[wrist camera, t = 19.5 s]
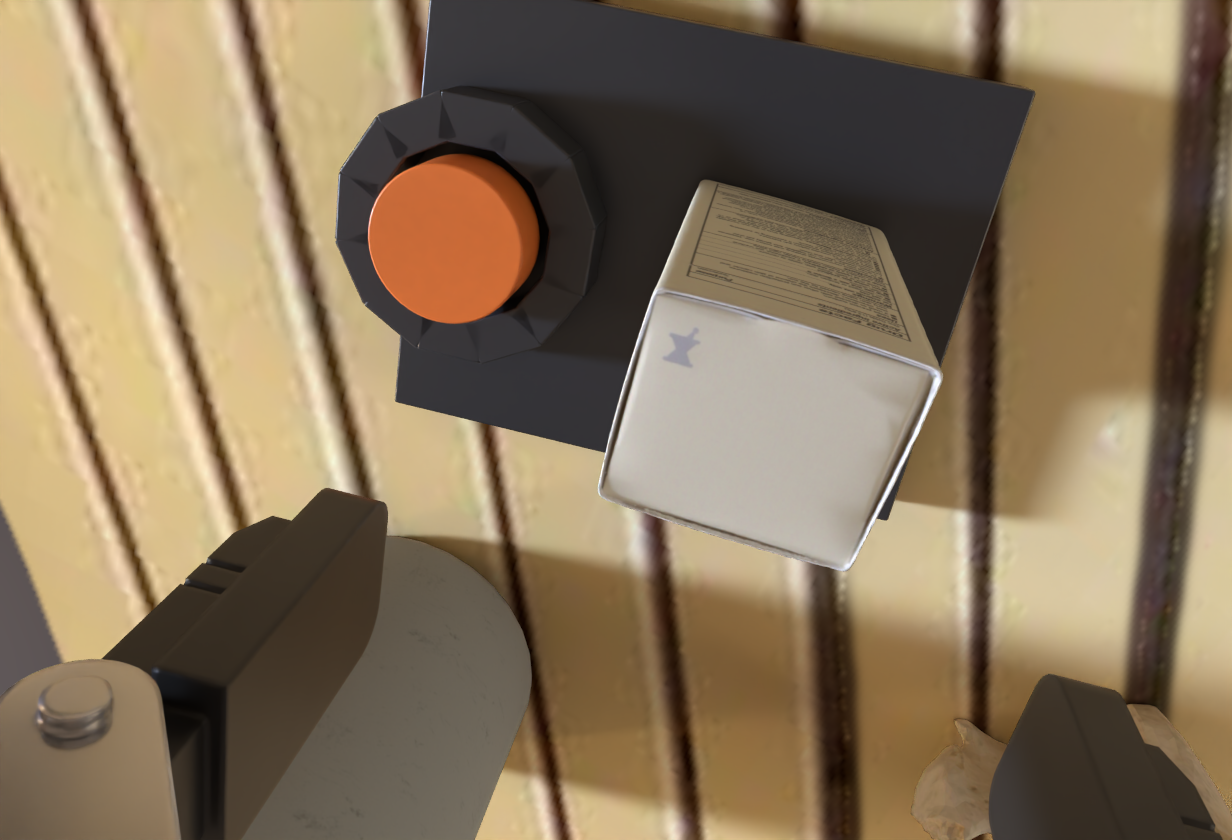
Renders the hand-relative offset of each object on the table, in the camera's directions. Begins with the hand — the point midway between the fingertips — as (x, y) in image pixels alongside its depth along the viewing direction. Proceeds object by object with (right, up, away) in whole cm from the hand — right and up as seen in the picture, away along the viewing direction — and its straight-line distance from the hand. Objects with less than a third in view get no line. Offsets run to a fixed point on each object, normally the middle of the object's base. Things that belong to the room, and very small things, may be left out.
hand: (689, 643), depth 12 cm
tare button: (-5, +8, +14) cm, 16 cm away
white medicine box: (+3, +6, +14) cm, 16 cm away
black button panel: (+1, +7, +15) cm, 17 cm away
